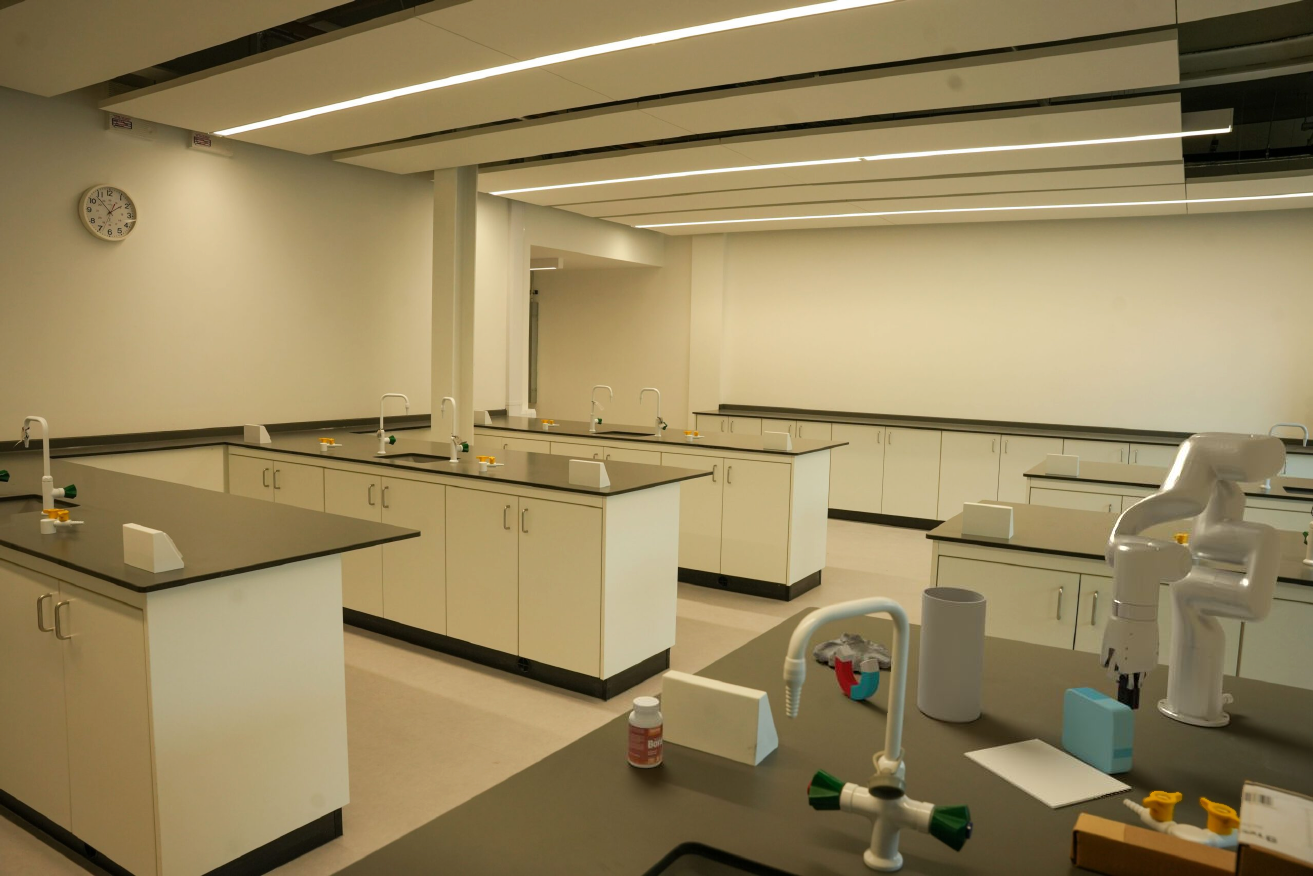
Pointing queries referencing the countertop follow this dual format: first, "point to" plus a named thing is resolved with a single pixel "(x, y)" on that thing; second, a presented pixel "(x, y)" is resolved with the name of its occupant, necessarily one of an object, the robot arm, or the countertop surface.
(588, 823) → the countertop surface
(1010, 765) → the mat
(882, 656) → the fossil
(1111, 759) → the data package
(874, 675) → the magnet
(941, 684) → the cylinder vase
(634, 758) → the pill bottle
